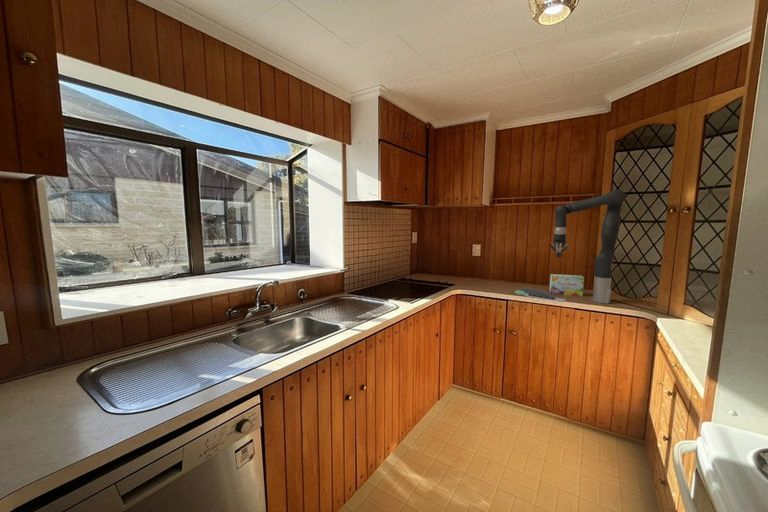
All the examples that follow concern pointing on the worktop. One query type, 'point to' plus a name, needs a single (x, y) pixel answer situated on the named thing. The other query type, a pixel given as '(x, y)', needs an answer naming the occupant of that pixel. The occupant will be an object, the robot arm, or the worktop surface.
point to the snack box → (566, 285)
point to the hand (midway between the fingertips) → (558, 257)
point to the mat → (548, 298)
